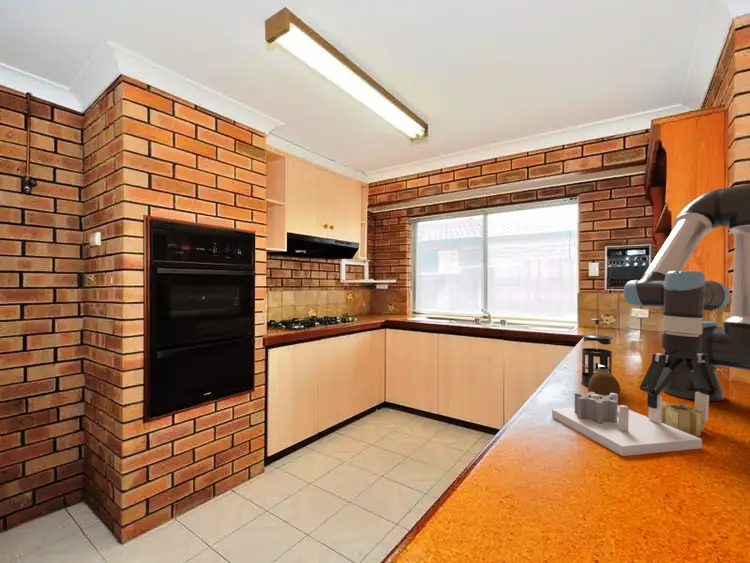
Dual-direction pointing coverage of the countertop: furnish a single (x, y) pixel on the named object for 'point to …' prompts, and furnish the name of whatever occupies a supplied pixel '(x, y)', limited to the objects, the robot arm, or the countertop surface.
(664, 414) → the brass gear
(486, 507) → the countertop surface
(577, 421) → the gear board
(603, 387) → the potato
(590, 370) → the french press
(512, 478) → the countertop surface
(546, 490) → the countertop surface
